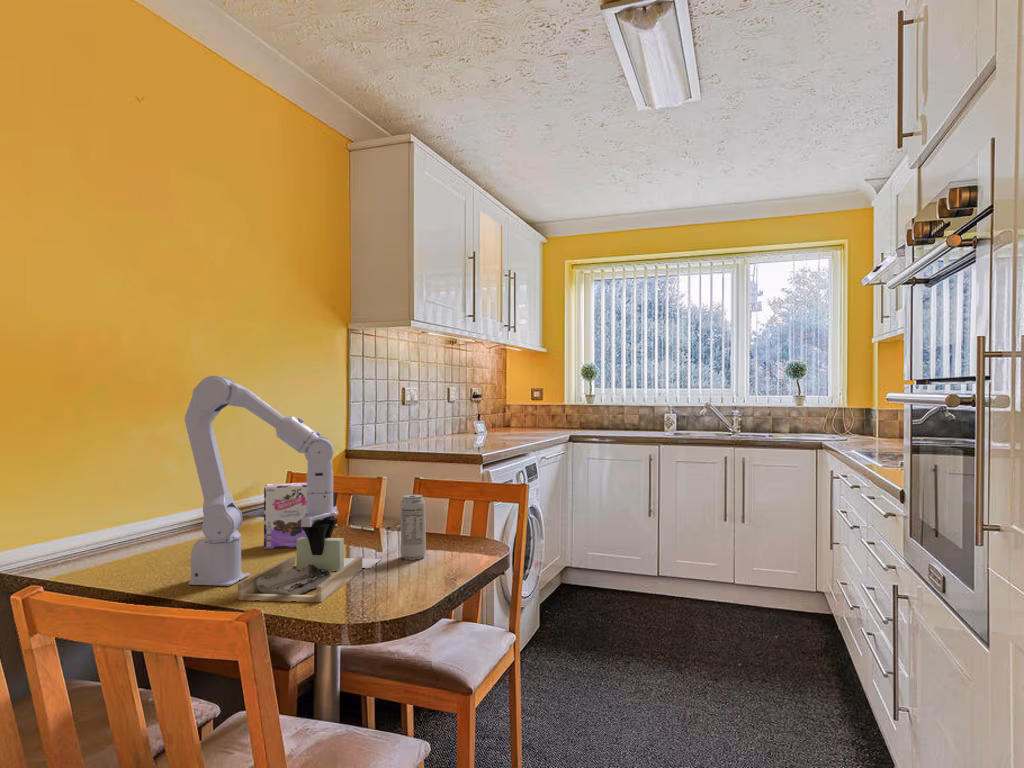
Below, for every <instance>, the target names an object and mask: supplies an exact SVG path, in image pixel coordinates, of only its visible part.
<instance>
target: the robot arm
mask: <svg viewBox="0 0 1024 768" xmlns="http://www.w3.org/2000/svg"><path fill="white" fill-rule="evenodd" d="M191 395H192V396H191V399H190V402H189V405H188V407H187V409H186V412H185V415H184V422H185V427H186V431H187V435H188V439H189V444H190V446H191V447H190V448H191V451H192V456H193V459H194V463H195V468H196V472H197V477H198V480H199V484H200V488H201V493H202V497H203V503H202V505H203V506H202V512H203V522H202V525H201V529H202V533H203V535H204V538H202V539H198V540H197V541H195V543H194V544H193V545H192V548H191V552H190V553H191V554H190V581H188V585H191V586H223V587H224V586H226V587H228V586H231V585H234V584H235V583H237V582H239V580H240V581H241V580H244V579H245V578H247V577H249V576H250V572H242V534H241V533H240V532H239V528H240V527H241V525H242V522H243V514H242V511H241V510H240V509H239V508H238V507H237V504H235V499H234V497H233V495H232V494H231V492H230V490H229V486H228V483H227V479H226V475H225V471H224V466H223V462H222V458H221V454H220V451H219V450H220V449H219V445H218V441H217V437H216V434H215V430H214V424H213V422H214V420H215V419H216V418H217V416H218V415H219V414H220V412H221V411H222V410H223V409H225V408H226V407H227V406H231V407H238V408H243V409H245V410H247V411H249V412H250V413H252V414H253V415H255V416H257V417H258V419H259V418H260V419H261V420H262V421H263V422H266V424H268V425H270V426H272V427H273V428H274V429H275V433H276V434H275V435H276V438H278V439H280V440H281V441H282V442H284V443H285V444H286V445H288V446H289V447H290V448H292V449H293V450H295V451H296V452H298V453H299V454H304V456H305V459H306V461H307V471H306V483H307V512H306V513H305V515H304V517H302V518H301V527H302V528H303V530H304V531H305V533H306V535H307V538H308V540H309V544H310V548H311V552H312V555H322V553H323V549H324V540H325V538H332V534H333V532H334V529H335V528H336V526H337V524H338V517H337V518H336V517H335V516H338V515H339V511H338V506H337V505H334V470H333V466H334V464H333V460H332V458H333V456H334V452H335V449H334V445H333V443H332V442H331V440H329V438H328V437H325V436H322V433H321V432H320V431H319V430H318V431H315V430H314V429H313V428H311V427H309V426H308V425H306V424H305V423H304V422H305V420H304V419H303V418H302V417H298V418H297V417H296V416H294V415H291V416H286V417H285V416H284V415H283V414H282V413H280V412H279V411H278V410H276V409H275V408H274V407H272V406H271V405H270V404H268V403H267V401H265V400H263V399H262V398H261V397H259V396H258V395H256V393H255V392H254V391H252V390H250V389H248V388H247V387H246V386H244V385H242V384H240V383H236V382H235V381H234V380H233V379H232V378H229V377H224V376H217V375H209V376H206V377H204V378H203V379H202V380H200V382H199V383H198V384H197V385H196V386H195V387H194V388H193V389H192V394H191Z"/></svg>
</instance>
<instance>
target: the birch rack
mask: <svg viewBox="0 0 1024 768" xmlns="http://www.w3.org/2000/svg"><path fill="white" fill-rule="evenodd" d="M362 558H363V557H362V556H357V557H356V559H355V560H353V561H352V562H350V563H349V564H347V565H346V566H344V567H343V568H342V569H340V570H333V571H332V572H335V573H330V575H331V576H330V577H329V578H328V579H326V580H325V581H323V582H322V583H321V584H319V585H318V586H316V588H315V590H316V593H315V594H316V595H315V594H311V595H310V594H299V595H288V594H270V593H257V592H259V591H258V590H259V589H258V587H257V584H256V583H257V579H258V578H259V577H271V576H273V577H274V576H275V575H276V574H277V573H280V572H281V573H282V572H283V573H284V572H286V571H288V570H290V569H293V568H294V569H297V564H296V555H289V556H288V557H286V558H284V559H282V560H281V561H278V562H276V563H275V564H273V565H271V566H269V567H268V568H266V569H264V570H263V571H261V572H258V573H256V574H254V575H253V576H251V577H249V578H247V579H246V580H244V581H242V582H240V583H239V584H237V600H238V601H255V600H260V601H261V602H262V601H263V602H291V601H296V602H299V603H323V602H324V601H325V600H327V599H328V598H329V597H330V596H331V595H333V594H334V593H335V592H337V591H338V590H339V589H340V588H342V587H343V586H345V585H346V584H347V583H348V582H349V581H351V580H352V579H354V576H355V575H356V576H357V575H358V574H360V573H361V572H362V571H363V569H362ZM301 570H303V569H298V570H297V571H301ZM361 570H362V571H361ZM360 571H361V572H360ZM359 572H360V573H359ZM307 576H309V574H308V575H307ZM356 576H355V577H356ZM350 579H351V580H350ZM255 592H256V593H255ZM260 601H259V602H260ZM300 601H301V602H300ZM322 601H323V602H322Z"/></svg>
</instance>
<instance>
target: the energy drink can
mask: <svg viewBox="0 0 1024 768" xmlns="http://www.w3.org/2000/svg"><path fill="white" fill-rule="evenodd" d="M426 519H427V518H426V501H425V499H424V496H423V494H417V493H415V494H414V493H413V494H404V495H403V496H402V500H401V501H400V555H401V556H402V558H403V559H404V558H405V559H404V560H406V559H409V560H408V561H416V560H415V559H418V560H422V559H423V558H424V557H425V555H426V553H427V545H426V544H427V540H426V539H427V538H426V537H427V536H426V535H427V534H426V533H427V531H426V529H427V525H426V524H427V523H426ZM421 558H422V559H421Z"/></svg>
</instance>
